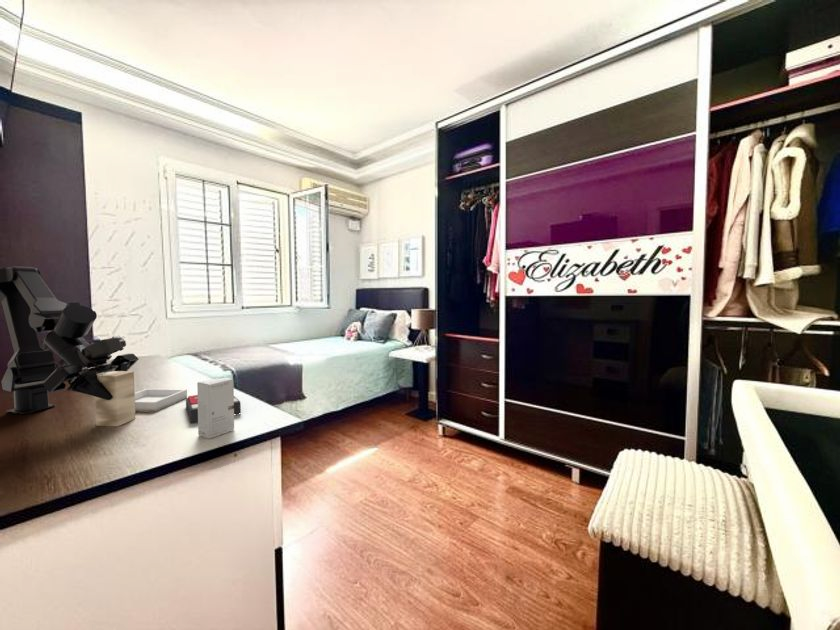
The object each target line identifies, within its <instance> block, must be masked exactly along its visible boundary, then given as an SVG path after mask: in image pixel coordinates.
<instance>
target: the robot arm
mask: <svg viewBox="0 0 840 630" xmlns="http://www.w3.org/2000/svg"><path fill="white" fill-rule="evenodd" d="M0 302H1V305H2V308H3V314H4V318H5V321H6V325H7V329H8V333H9V337H10V342H11V344H12V348H13V349H12V350H13V352H14V353H13V355H12V356H11V358H10V360H9V361H8V362H7V368H6V371H5V372H4V375H3V378H2V380H1V382H0V383H1V388H2V390H3V391H6V392H13V405H14V406H13V407H14V408H12V409H7V410H5V411H6V413H7V412H12V413H11V414H17V413H19V414H20V415H29V414H31V413H35V411H36V412H39V410H40V411H43V410H42V409H44V410H47V409H50V407H51V408H54V407H56V404H54V403H53V404H52V403H49V394H53V393H56V392H61V391H63V390H65V389H66V386H67V385H66V384H65V382H68V384H69V386H68V387H67V389H66V391H67V392H75V393H81V394H84V395H88V396H93V397H94V398H95V397H99V398H102V399H105V400H111V399H112V398H113V396H112V395H111V393H110V392H109V391H108V390H107V389H106V388H105V387H104V386H103V384H102V383H101V382H100V381H99V380H98V379H97V375H100V374H104V373H108V372H112V371H130V369H131V368H132V367H134V365H135V364H136V363H137V362H138V360H139V357H138V356H136V355H135V354H134V353H125V354H119V355H117V356H115V357H114V358H113V360H111V361H110V362H107V361H109V360H110V359H112V357H113V355H114V354H115V353H117V352H119V351H120V352H121V351H123V350H124V348H125V347H126V346H127V341H126V340H125V338H122V337H121V336H120V335H113V336H112V337H110V338H104V339H101V340H98V341H95V342H94V343H89V342H88V341H87V340H86V339H85V338H84V337H85V336H86V335H88V333H89V332H90V329H91V328H92V326H93V325H94V323H95V321H96V320H97V316H98V315H97V312H96V311H95V310H93V309H91V308H90V307H88V306H85V305H81V303H80V301H68V302H67V303H66V302H63V301H61V300H59V299H57V298H56V296H55V295H54V294H53V292H52V291H51V290H50V288H49V287H48V285H47V283H45V281H44V280H43V278H42V277H41V271H40V269H39V268H36V267H33V266H19V265H18V266H16V265H13V266H8V267H3V268H2V267H0ZM38 333H47V334H46V336H45V337H44V338H43V343H42V346H41V343H40V338H39V336H38ZM51 350H52V351H51ZM53 353H55V354H56V356H58V357H59V358H60V361H59V362H58V363H57V362H56V361H55V358H54V354H53ZM112 354H113V355H112ZM58 364H59V366H58ZM46 408H47V409H46ZM19 414H18V415H19Z"/></svg>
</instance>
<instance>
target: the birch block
mask: <svg viewBox="0 0 840 630" xmlns="http://www.w3.org/2000/svg"><path fill="white" fill-rule="evenodd" d="M97 379H98V380H99V381H100V382H101V383H102V384H103V386H104V387H105V388H106V389H107V390H108V391H109V392H110V393H111V395H112V396H113V398H112V399H111V400H105V399H102V398H99V397H95V396H94V400H95V401H94V402H95V404H94V405H95V424H96V427H119V426H121V425H124V424H126V423H129V422H131V421H134V420H135V419H136V411H135V393H136V392H135V371H130V370H128V371H112V372H108V373H99V374H97Z"/></svg>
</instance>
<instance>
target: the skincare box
mask: <svg viewBox="0 0 840 630" xmlns="http://www.w3.org/2000/svg"><path fill="white" fill-rule="evenodd" d="M196 385H197V386H196V387H197V395H198V423H197V431H198V432H197V434H198V436H199V437H202V438H205V439H208V440H209V439H210V440H211V439H213V438H215V437H218V436H222V435H223V434H226V433H230V432H232V431H234V430H235V416H234V396H235V395H234V393H235V391H234V388H235V387H234V378H231V377H224V376H223V377H222V376H221V377H217V378H211V379H207V380H203V381H197V383H196ZM229 431H230V432H229Z"/></svg>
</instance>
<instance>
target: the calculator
mask: <svg viewBox="0 0 840 630" xmlns="http://www.w3.org/2000/svg"><path fill="white" fill-rule="evenodd" d="M241 408H242V407H241V401H240V399H238V398H237V397H236V396H235V395H234V414H239V413H241V414H242V409H241ZM185 409H186V412H187V415H188V417H189V422H190V424H198V394H195V395H187V398H185Z"/></svg>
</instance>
